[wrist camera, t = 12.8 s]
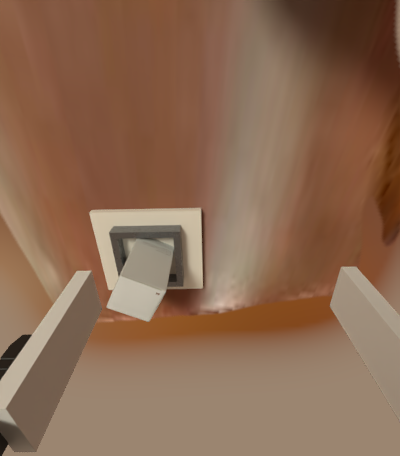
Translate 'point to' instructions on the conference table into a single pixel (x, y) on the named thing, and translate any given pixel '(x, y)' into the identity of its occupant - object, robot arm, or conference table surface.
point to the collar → (149, 232)
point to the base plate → (150, 217)
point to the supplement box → (143, 279)
